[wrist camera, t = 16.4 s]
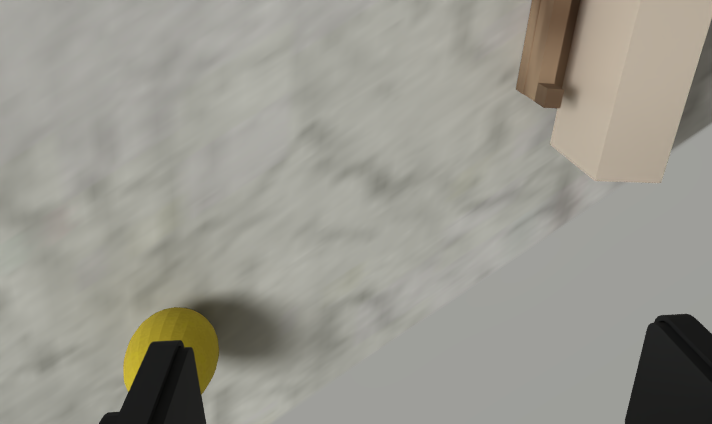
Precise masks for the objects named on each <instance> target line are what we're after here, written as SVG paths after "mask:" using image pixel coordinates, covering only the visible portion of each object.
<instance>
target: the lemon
mask: <svg viewBox="0 0 712 424" xmlns="http://www.w3.org/2000/svg"><path fill="white" fill-rule="evenodd" d="M173 340H181V341H182V342H183V344H184V347H192V348H193V351H194V356H195V362H196V368H197V373H198V379H199V385H200V391H201V394H202V393H203V392H204V391H205V389H206V387H207V386H208V384H209V382H210V381H211V379H212V377H213V375H214V373H215V370H216V366H217V361H218V357H219V346H218V338H217V335H216V333H215V330H214V328H213V326H212V325H211V324H210V322H209V321H208V320H207V319H206V318H205V317H204V316H203V315H201V314H200V313H198V312H196V311H194V310H191V309H187V308H177V307H174V308H169V309H164V310H162V311H159V312H157V313H155V314H153V315H152V316H150V317H149V318H148V319H147V320H145V321H144V322H143V323H142V324H141V325H140V326H139V328H138V329H137V331H136V332H135V333H134V335H133V336H132V338H131V340H130V342H129V345H128V348H127V351H126V354H125V358H124V382H125V385H126V388H127V390H128V392H129V390H130V388H131V385H132V383H133V381H134V379H135V376H136V374H137V372H138V370H139V367H140V365H141V363H142V361H143V358H144V356H145V354H146V352H147V349H148V347H149V345H150V344H151V342H153V341H173Z"/></svg>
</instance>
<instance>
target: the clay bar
mask: <svg viewBox="0 0 712 424" xmlns="http://www.w3.org/2000/svg"><path fill="white" fill-rule="evenodd" d="M711 19H712V0H580V5H579V10H578V15H577V19H576V24H575V29H574V34H573V38H572V43H571V48H570V52H569V57H568V62H567V67H566V71H565V76H564V81H563V85H562V88H563V89H564V94H563V98H562V103H561V108H558V109H557V114H556V119H555V123H554V128H553V133H552V137H551V142H550V145H551V146H553V147H554V148H555V149H556V150H557V151H559V152H560V153H561V154H562V155H564V156H565V157H566V158H567V159H568V160H570V161H571V162H572V163H573V164H575V165H576V166H577V167H578V168H580V169H581V170H582V171H583V172H584V173H586V174H587V175H588V176H589V177H591V178H592V179H593V180H594V181H610V182H642V183H661V181H662V178H663V175H664V172H665V168H666V165H667V162H668V159H669V156H670V152H671V149H672V146H673V143H674V139H675V136H676V133H677V130H678V126H679V123H680V120H681V117H682V113H683V110H684V107H685V104H686V100H687V97H688V94H689V91H690V87H691V84H692V81H693V78H694V74H695V71H696V68H697V65H698V61H699V58H700V55H701V52H702V48H703V45H704V42H705V39H706V35H707V32H708V29H709V26H710V22H711Z"/></svg>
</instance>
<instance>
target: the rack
mask: <svg viewBox="0 0 712 424" xmlns="http://www.w3.org/2000/svg"><path fill="white" fill-rule="evenodd" d="M579 5H580V0H532V4H531V9H530V15H529V20H528V26H527V31H526V37H525V42H524V48H523V53H522V59H521V64H520V70H519V75H518V80H517V86H516V90H518V91H519V92H521V93H522V94H524V95H526V96H527V97H529V98H530V99H532V100H533V101H535V102H536V103H538V104H539V105H541V106H542V107H544V108H561V103H562V98H563V94H564V89H563V88H562V85H563V81H564V76H565V71H566V67H567V62H568V57H569V52H570V48H571V43H572V38H573V34H574V29H575V24H576V19H577V15H578V10H579Z"/></svg>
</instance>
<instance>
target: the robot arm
mask: <svg viewBox="0 0 712 424" xmlns="http://www.w3.org/2000/svg"><path fill="white" fill-rule="evenodd" d="M99 424H206V420H205V414H204V408H203V402H202V397H201V391H200V385H199V379H198V373H197V368H196V362H195V356H194V351H193V348H192V347H184V344H183V342H182V341H181V340H173V341H153V342H151V344H150V345H149V347H148V349H147V352H146V354H145V356H144V358H143V361H142V363H141V365H140V367H139V370H138V372H137V374H136V376H135V379H134V381H133V383H132V385H131V388H130V390H129V392H128V394H127V397H126V399H125V401H124V403H123V406H122V408H121V410H120V412H110V413H107V414H105V415H104V416H103V418H102V419H101V421H100V422H99ZM625 424H712V334H711V333H710V332H709V331H708V330H707V329H706V328H705V327H704V326H703V325H702V324H701V323H700V322H699V321H697V320H696V319H695V318H694V317H693V316H691V315H689V314H677V315H661V316H658V317H657V318H656V319H655V322H654V323H651V324H650V325H649V326H648V328H647V331H646V335H645V340H644V344H643V348H642V352H641V357H640V360H639V365H638V369H637V373H636V377H635V381H634V385H633V389H632V393H631V398H630V402H629V406H628V410H627V414H626V418H625Z"/></svg>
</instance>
